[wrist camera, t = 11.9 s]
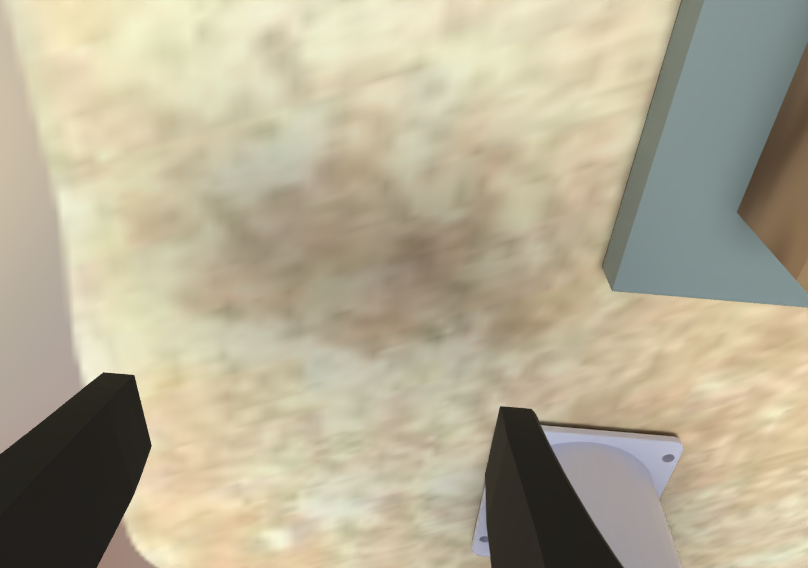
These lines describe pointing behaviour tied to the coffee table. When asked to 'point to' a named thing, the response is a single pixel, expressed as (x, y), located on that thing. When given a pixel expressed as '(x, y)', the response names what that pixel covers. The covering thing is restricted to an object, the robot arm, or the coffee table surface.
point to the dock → (709, 157)
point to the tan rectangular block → (784, 182)
